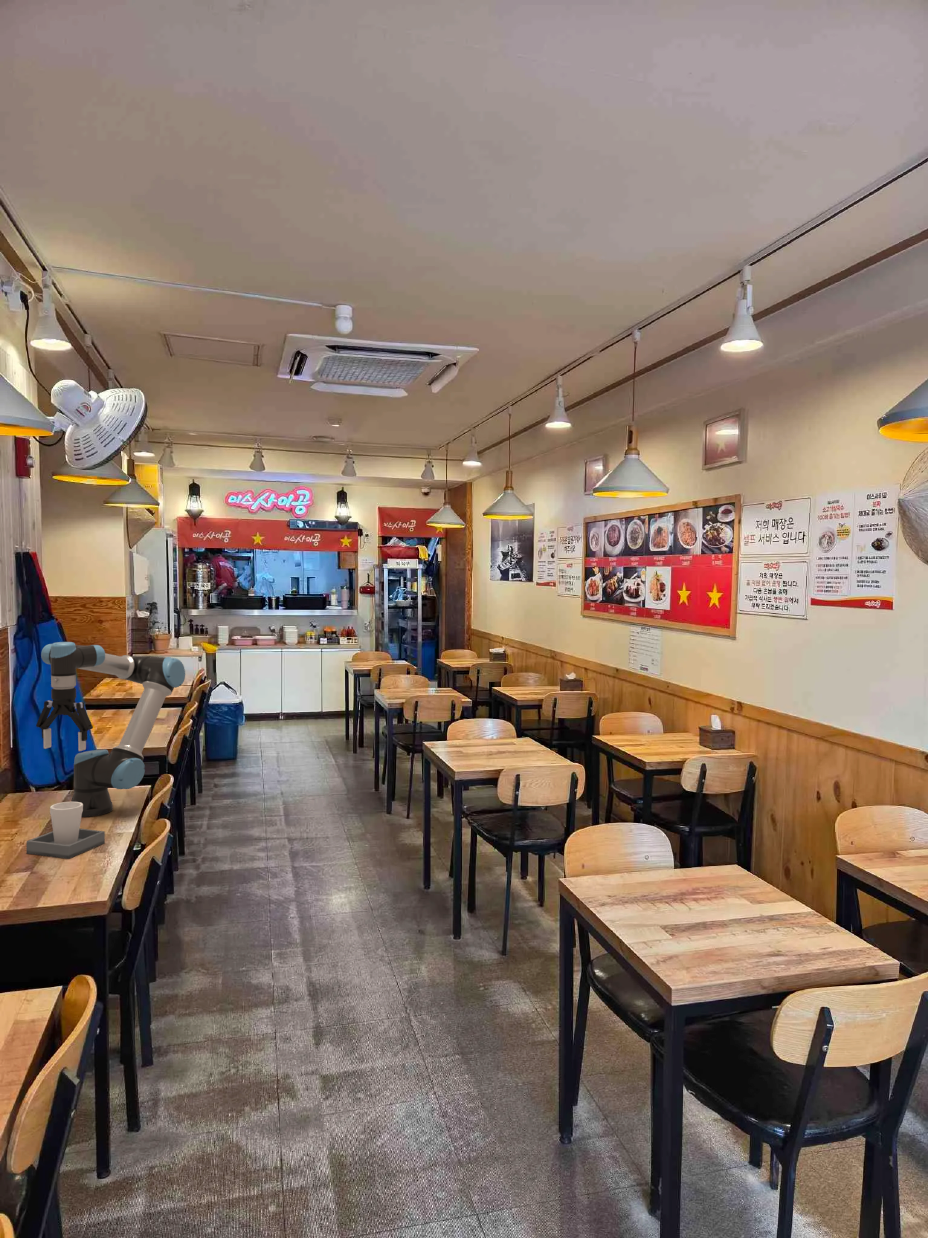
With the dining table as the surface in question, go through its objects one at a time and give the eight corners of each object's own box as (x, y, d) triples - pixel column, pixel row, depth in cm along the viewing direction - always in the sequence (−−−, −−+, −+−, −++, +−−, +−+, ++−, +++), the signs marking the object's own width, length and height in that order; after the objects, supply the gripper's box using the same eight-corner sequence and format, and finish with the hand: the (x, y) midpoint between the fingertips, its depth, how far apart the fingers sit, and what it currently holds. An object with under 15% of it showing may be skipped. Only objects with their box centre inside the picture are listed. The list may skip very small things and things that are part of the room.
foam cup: (88, 843, 250) (89, 804, 250) (63, 851, 242) (63, 811, 241) (68, 839, 254) (69, 800, 254) (43, 847, 245) (43, 807, 245)
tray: (64, 838, 257) (64, 826, 257) (104, 843, 253) (104, 831, 253) (26, 853, 242) (26, 841, 242) (68, 859, 238) (68, 846, 238)
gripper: (23, 687, 258) (25, 749, 259) (88, 690, 253) (89, 753, 254) (40, 684, 265) (41, 744, 267) (103, 687, 260) (104, 748, 262)
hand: (64, 749), depth 261 cm, fingers open, 13 cm apart
